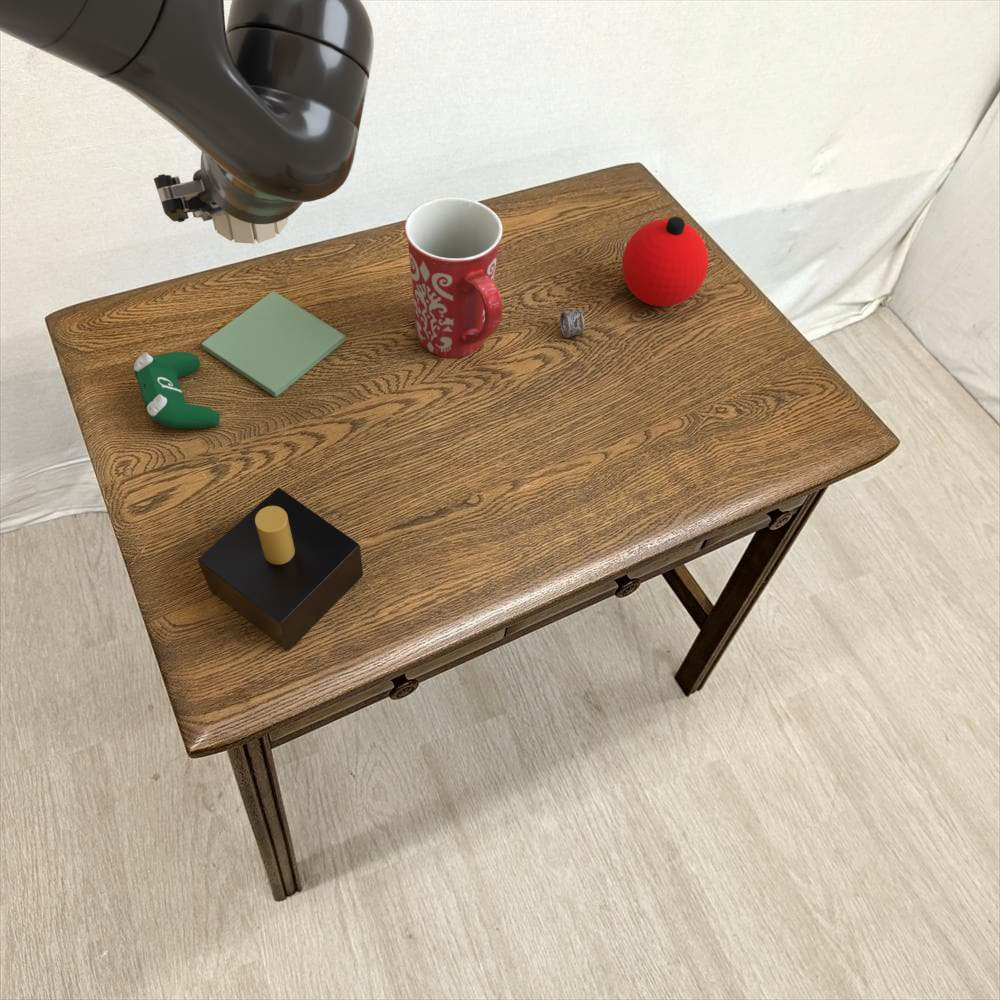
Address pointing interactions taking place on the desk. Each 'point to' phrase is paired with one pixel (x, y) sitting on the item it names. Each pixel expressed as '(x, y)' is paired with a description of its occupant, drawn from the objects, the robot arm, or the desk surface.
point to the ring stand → (282, 567)
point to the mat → (273, 343)
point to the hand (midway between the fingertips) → (243, 199)
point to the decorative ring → (571, 323)
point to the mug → (454, 274)
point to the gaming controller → (171, 391)
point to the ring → (246, 229)
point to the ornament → (665, 262)
